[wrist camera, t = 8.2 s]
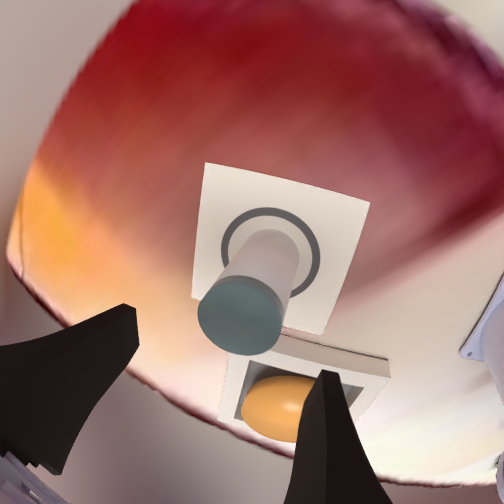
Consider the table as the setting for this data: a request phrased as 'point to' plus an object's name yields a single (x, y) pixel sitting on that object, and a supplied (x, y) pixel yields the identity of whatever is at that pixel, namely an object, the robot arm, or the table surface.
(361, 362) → the button box
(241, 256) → the white cylindrical piece
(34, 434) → the robot arm
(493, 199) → the table surface
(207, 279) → the paper sheet
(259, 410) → the button
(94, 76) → the table surface
